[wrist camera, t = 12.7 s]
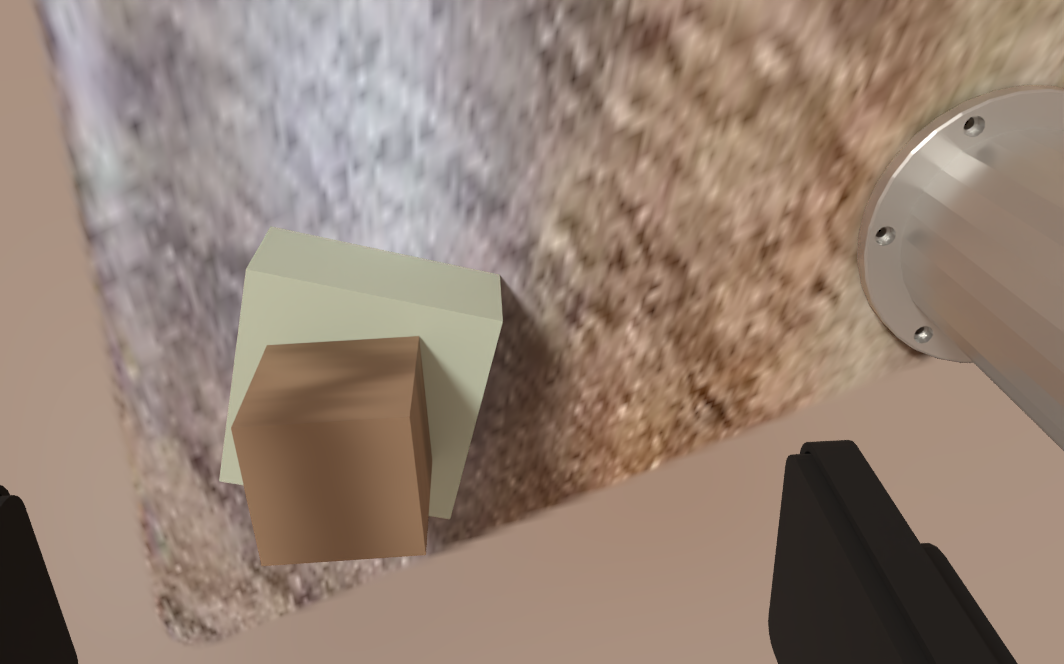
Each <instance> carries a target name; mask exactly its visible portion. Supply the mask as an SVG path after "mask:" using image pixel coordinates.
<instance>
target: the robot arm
mask: <svg viewBox="0 0 1064 664" xmlns="http://www.w3.org/2000/svg"><path fill="white" fill-rule="evenodd" d="M968 119H969V122H968V124H967V125H966V126H964V125H965V123H966V121H967V120H968ZM881 228H882V230H881V231H880V232H879V233H877V232H878V231H879V230H880V229H881ZM857 262H858V268H859V274H860V280H861V285H862V287H863V290H864V292H865V294H866V297H867V299H868V302H869V304H870V306H871V307H872V308H873V310H874V311H875V313H876V314H877V315H878V317H879V318H880V320H881V321H882V322H883V323H884V324H885V325H886V326H887V327H888V328H889V329H890V330H891V331H892V332H893V333H894V334H895V336H896V337H897V338H899V339H900V340H901V341H903V342H904V343H906V344H907V345H908V346H910V347H911V348H913V349H915V350H917V351H919V352H922V353H925V354H927V355H930V356H932V357H935V358H937V359H943V360H949V361H955V362H960V363H968V362H969V363H971V362H973V363H975V364H976V365H977V366H978V367H979V368H980V369H981V370H982V371H983V372H984V373H985V374H986V375H987V376H988V377H989V378H990V379H991V380H992V381H993V382H994V383H995V384H996V385H997V386H998V387H999V388H1000V389H1001V390H1002V391H1003V392H1004V393H1005V394H1006V395H1007V396H1008V397H1009V398H1010V399H1011V400H1012V401H1013V402H1014V403H1015V404H1016V405H1017V406H1018V407H1020V409H1022V411H1024V412H1025V413H1026V414H1027V415H1028V416H1029V417H1030V418H1031V419H1032V420H1033V421H1034V422H1035V423H1036V424H1037V425H1038V426H1039V427H1040V428H1041V429H1042V430H1043V431H1044V432H1045V433H1046V434H1047V435H1048V436H1049V437H1050V438H1051V439H1052V440H1053V441H1054V442H1055V443H1056V444H1057V445H1058V446H1059V447H1060V448H1061V449H1062V450H1063V451H1064V88H1060V87H1055V86H1044V85H1022V86H1016V87H1010V88H1005V89H999V90H994V91H991V92H989V93H986V94H983V95H980V96H978V97H975V98H972V99H969V100H967V101H965V102H963V103H961V104H959V105H957V106H956V107H954V108H952V109H950V110H949V111H947V112H945V113H943V114H942V115H940V116H938V117H937V118H936V119H934V120H933V121H932V122H931V123H929V124H928V125H927V126H925V127H924V128H923V129H922V130H920V131H919V132H918V133H917V134H915V135H914V136H913V137H912V138H911V139H910V140H909V142H908V143H907V144H906V145H905V146H904V147H903V148H902V149H901V150H900V151H899V152H898V153H897V155H896V156H895V157H894V158H893V159H892V161H891V162H890V164H889V165H888V167H887V168H886V170H885V171H884V173H883V174H882V176H881V177H880V179H879V180H878V182H877V183H876V185H875V187H874V190H873V192H872V194H871V196H870V199H869V201H868V203H867V205H866V208H865V210H864V214H863V219H862V223H861V227H860V231H859V235H858V254H857ZM768 625H769V635H770V640H771V644H772V648H773V651H774V654H775V656H776V659H777V662H778V664H1017V662H1016V661H1015V659H1014V658H1013V656H1012V655H1011V653H1010V652H1009V650H1008V649H1007V647H1006V646H1005V644H1004V643H1003V641H1002V640H1001V638H1000V637H999V635H998V634H997V632H996V631H995V630H994V628H993V627H992V625H991V624H990V622H989V621H988V619H987V618H986V616H985V615H984V613H983V612H982V610H981V609H980V607H979V606H978V604H977V603H976V601H975V600H974V598H973V597H972V595H971V594H970V592H969V591H968V589H967V588H966V586H965V585H964V584H963V582H962V580H961V579H960V578H959V576H958V575H957V573H956V572H955V570H954V569H953V567H952V566H951V564H950V563H949V561H948V560H947V558H946V557H945V556H944V554H943V553H942V552H941V551H940V550H939V549H938V547H936V546H934V545H932V544H930V543H921V544H920V542H919V541H918V539H917V537H916V536H915V534H914V533H913V532H912V530H911V529H910V527H909V525H908V524H907V522H906V521H905V519H904V518H903V516H902V514H901V513H900V511H899V510H898V508H897V507H896V505H895V504H894V502H893V501H892V499H891V498H890V496H889V494H888V493H887V491H886V490H885V488H884V487H883V485H882V484H881V482H880V481H879V479H878V477H877V476H876V475H875V473H874V471H873V470H872V468H871V467H870V465H869V464H868V462H867V461H866V459H865V458H864V456H863V454H862V453H861V451H860V450H859V448H858V447H857V445H856V444H855V443H854V442H853V441H850V440H841V441H820V442H806V443H804V444H803V446H802V448H801V451H800V454H796V455H790V456H788V458H787V460H786V466H785V474H784V483H783V492H782V501H781V510H780V519H779V528H778V537H777V546H776V555H775V564H774V573H773V581H772V590H771V600H770V608H769V620H768ZM0 664H78V659H77V655H76V652H75V649H74V646H73V644H72V640H71V637H70V634H69V632H68V629H67V626H66V623H65V620H64V617H63V614H62V611H61V609H60V606H59V603H58V600H57V597H56V594H55V591H54V588H53V585H52V583H51V580H50V577H49V574H48V571H47V568H46V565H45V562H44V560H43V557H42V554H41V551H40V548H39V545H38V542H37V540H36V537H35V534H34V531H33V528H32V525H31V522H30V519H29V516H28V514H27V511H26V508H25V505H24V503H23V501H22V500H21V499H20V498H19V497H18V496H15V495H10V494H9V492H8V490H7V489H6V488H4V487H3V486H1V485H0Z"/></svg>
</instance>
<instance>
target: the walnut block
mask: <svg viewBox="0 0 1064 664" xmlns="http://www.w3.org/2000/svg"><path fill="white" fill-rule="evenodd" d="M231 431H232V435H233V440H234V444H235V449H236V453H237V458H238V462H239V467H240V471H241V476H242V480H243V485H244V489H245V493H246V498H247V502H248V507H249V511H250V516H251V520H252V525H253V529H254V534H255V538H256V543H257V547H258V552H259V556H260V561H261V565H262V566H270V565H285V564H300V563H314V562H329V561H344V560H358V559H373V558H388V557H402V556H417V555H426V545H427V531H428V517H429V503H430V488H431V474H432V452H431V443H430V433H429V424H428V415H427V405H426V396H425V387H424V377H423V368H422V358H421V349H420V340H419V336H411V337H394V338H378V339H361V340H345V341H328V342H311V343H295V344H278V345H267V346H266V348H265V351H264V353H263V355H262V358H261V360H260V362H259V364H258V367H257V369H256V371H255V374H254V376H253V378H252V381H251V383H250V385H249V387H248V390H247V392H246V394H245V397H244V399H243V401H242V404H241V406H240V408H239V410H238V413H237V415H236V417H235V420H234V422H233V424H232V427H231Z"/></svg>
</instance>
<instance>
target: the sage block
mask: <svg viewBox="0 0 1064 664" xmlns="http://www.w3.org/2000/svg"><path fill="white" fill-rule="evenodd" d="M502 323H503V316H502V300H501V285H500V275H498V274H493V273H488V272H483V271H479V270H474V269H469V268H465V267H460V266H455V265H450V264H446V263H441V262H436V261H432V260H427V259H422V258H417V257H413V256H408V255H403V254H398V253H394V252H389V251H384V250H380V249H375V248H370V247H365V246H361V245H356V244H351V243H346V242H342V241H337V240H332V239H328V238H323V237H318V236H313V235H309V234H304V233H299V232H294V231H290V230H285V229H280V228H276V227H270V228H269V230H268V232H267V234H266V235H265V237H264V239H263V241H262V242H261V244H260V246H259V248H258V249H257V251H256V253H255V255H254V256H253V258H252V260H251V262H250V263H249V265H248V267H247V269H246V274H245V282H244V290H243V298H242V306H241V314H240V321H239V329H238V337H237V345H236V353H235V361H234V369H233V377H232V384H231V392H230V400H229V408H228V416H227V424H226V432H225V440H224V447H223V455H222V463H221V471H220V479H219V481H222V482H228V483H234V484H240V485H243V480H242V476H241V471H240V467H239V462H238V458H237V453H236V449H235V444H234V440H233V435H232V431H231V427H232V424H233V422H234V420H235V417H236V415H237V413H238V410H239V408H240V406H241V404H242V401H243V399H244V397H245V394H246V392H247V390H248V387H249V385H250V383H251V381H252V378H253V376H254V374H255V371H256V369H257V367H258V364H259V362H260V360H261V358H262V355H263V353H264V351H265V348H266V346H267V345H278V344H295V343H311V342H328V341H345V340H361V339H378V338H394V337H411V336H419V340H420V349H421V358H422V368H423V377H424V387H425V396H426V405H427V415H428V424H429V433H430V443H431V452H432V474H431V488H430V503H429V516H432V517H438V518H444V519H450V518H451V514H452V511H453V507H454V503H455V499H456V496H457V492H458V488H459V484H460V481H461V477H462V473H463V469H464V466H465V462H466V458H467V454H468V451H469V447H470V443H471V439H472V436H473V432H474V428H475V424H476V420H477V417H478V413H479V409H480V405H481V402H482V398H483V394H484V390H485V387H486V383H487V379H488V375H489V372H490V368H491V364H492V360H493V357H494V353H495V349H496V345H497V342H498V338H499V334H500V330H501V327H502Z"/></svg>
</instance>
